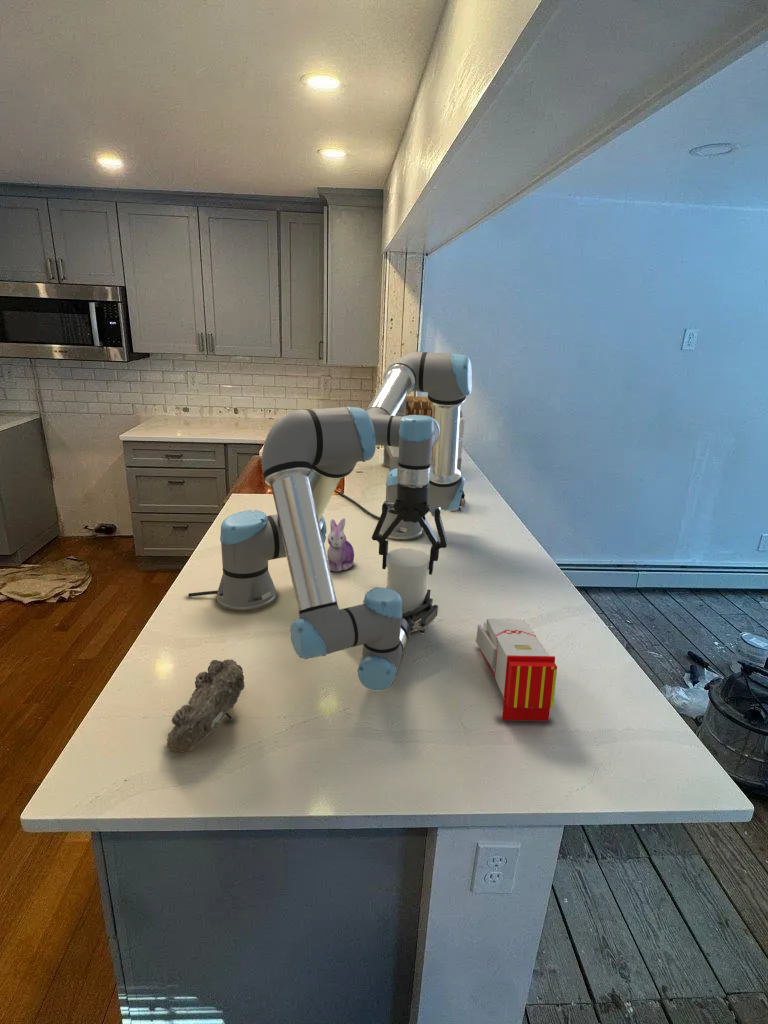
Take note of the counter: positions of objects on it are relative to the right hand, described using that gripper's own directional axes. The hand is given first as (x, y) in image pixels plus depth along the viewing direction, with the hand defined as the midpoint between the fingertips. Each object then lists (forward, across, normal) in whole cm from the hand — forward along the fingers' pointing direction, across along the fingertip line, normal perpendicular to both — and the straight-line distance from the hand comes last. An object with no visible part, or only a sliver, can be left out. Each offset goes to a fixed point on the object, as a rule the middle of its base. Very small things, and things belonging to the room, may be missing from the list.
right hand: (407, 569), depth 139 cm
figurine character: (+15, -7, -94) cm, 96 cm away
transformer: (+15, +13, -139) cm, 141 cm away
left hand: (+8, 0, -4) cm, 9 cm away
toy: (+15, -26, +18) cm, 34 cm away
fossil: (+15, +31, +44) cm, 55 cm away
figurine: (+15, +24, -28) cm, 39 cm away
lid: (-3, 0, 0) cm, 3 cm away
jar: (+15, 0, 0) cm, 15 cm away
